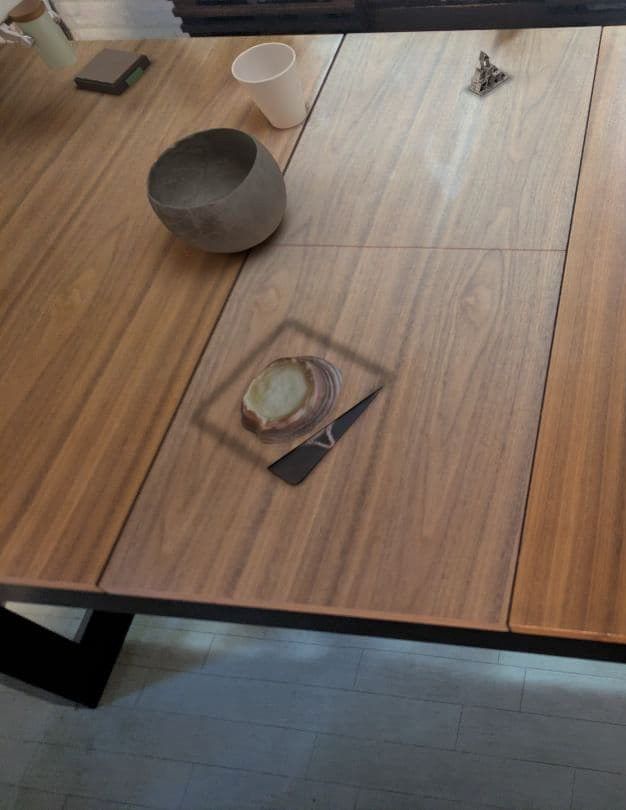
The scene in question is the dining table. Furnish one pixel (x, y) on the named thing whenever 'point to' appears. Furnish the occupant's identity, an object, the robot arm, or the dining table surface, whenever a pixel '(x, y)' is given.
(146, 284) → the dining table surface
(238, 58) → the cup
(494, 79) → the stone castle ruin model
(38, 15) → the jar
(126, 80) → the scale
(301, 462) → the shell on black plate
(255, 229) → the bowl
